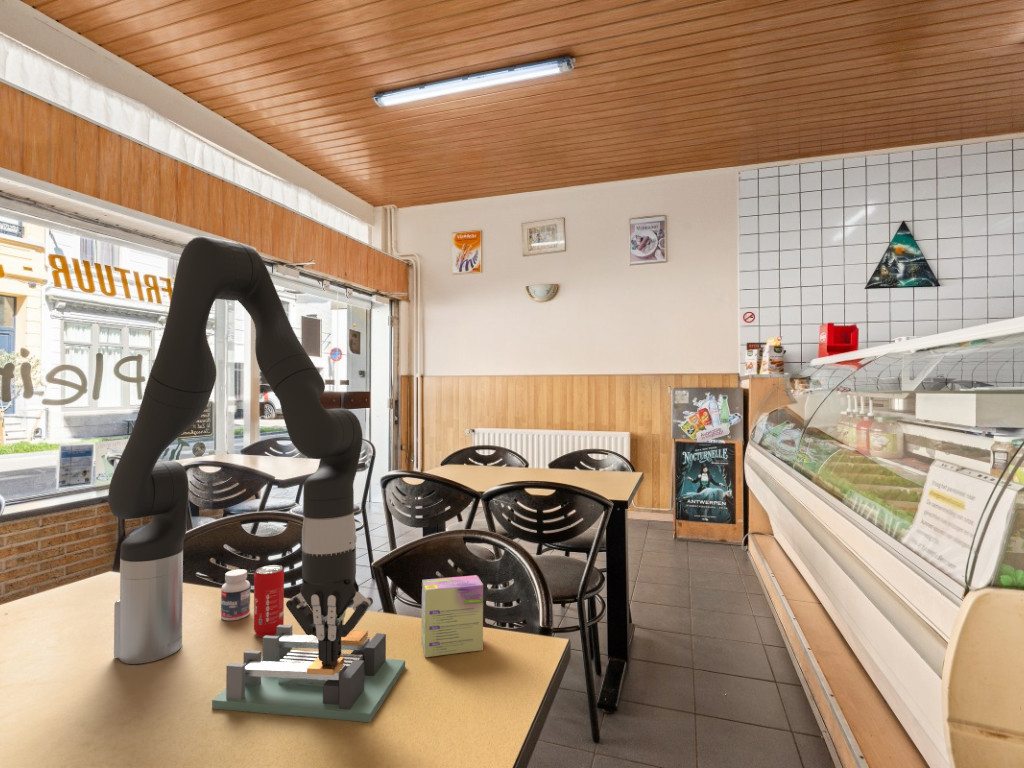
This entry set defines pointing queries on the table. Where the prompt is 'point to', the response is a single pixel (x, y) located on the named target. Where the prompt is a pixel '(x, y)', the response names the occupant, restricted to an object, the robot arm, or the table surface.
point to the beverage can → (268, 600)
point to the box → (452, 615)
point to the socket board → (335, 700)
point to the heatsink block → (310, 657)
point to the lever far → (350, 642)
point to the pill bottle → (235, 595)
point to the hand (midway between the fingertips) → (330, 662)
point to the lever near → (295, 669)
